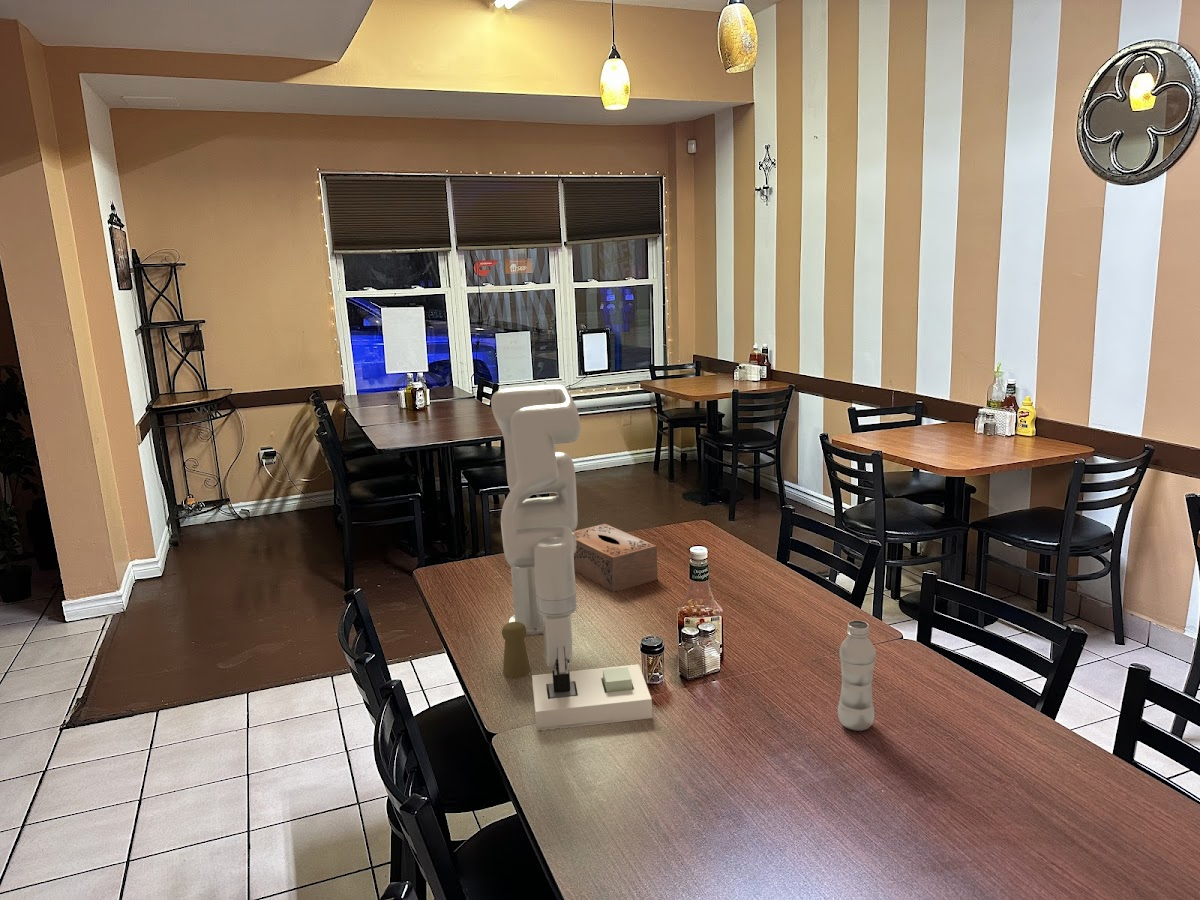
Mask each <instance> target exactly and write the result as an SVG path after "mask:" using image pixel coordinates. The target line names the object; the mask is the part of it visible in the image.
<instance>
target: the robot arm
mask: <svg viewBox="0 0 1200 900" xmlns="http://www.w3.org/2000/svg"><path fill="white" fill-rule="evenodd" d="M490 405H491V410H492V414H493V416H494V420H495V421H496V424H497V425H498V428H499V429H500V432H501V434H502V438H503V441H504V442H503V443H504V455H505V466H506V467H505V468H506V479H507V485H508V489H509V493H508V494H507V496H506V498H505V500H504V502H503V505H502V508H501V512H500V528H501V529H500V530H501V537H502V547H503V552H504V553H503V554H504V557H505V560H506V562H507V564H508V565H509V566H510V572H511V573H510V574H511V584H512V598H513V599H512V601H513V614H514V615H512V616H511V617H510V618H509V620H508V623H510V622H520V623H523V624H524V625H525V627H526V636H527V635H530V636H531V635H532V636H537V635H541V634H542V635H543V647H544V656H545V663H546V666H547V667H549V668H550V667H553V668H552V673H553V688H554V692H555V693H558V692H567V691H570V673H569V671H570V668H569V665H571V664H572V663H573V633H572V632H573V630H572V629H573V628H572V614H574V613H575V612H576V611H577V591H576V590H577V589H576V574H575V572H576V571H575V570H574V553H575V552H576V537H575V534H574V531H577V530H576V529H577V527H578V499H577V497H578V495H577V481H576V480H577V479H576V478H577V477H576V470H575V469H576V468H575V465H574V461H573V458H572V456H571V455H569V454H568V453H566V452H563V451H556V447H555V445H557V444H558V445H559V444H569V443H574V442H576V441H578V440H579V438H580V436H581V435H580V434H581V418H580V414H579V410H578V408H577V406H576V403H575V402H574V399H573V397H572V395H571V393H570V391H569V389H568V388H567V387H566V386H564V385H563V384H549V385H548V384H545V385H537V386H536V385H535V386H534V385H533V386H531V385H530V386H518V387H517V386H516V387H509V388H503V389H499V390H497V391H495V392H494V393H493V394H492V396H491V400H490ZM544 494H545V495H546V494H556V495H554V496H542V497H539V496H538V497H532V496H533V495H544ZM531 497H532V498H531Z"/></svg>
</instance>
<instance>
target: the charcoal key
mask: <svg viewBox="0 0 1200 900" xmlns="http://www.w3.org/2000/svg"><path fill="white" fill-rule="evenodd" d="M548 689H549V699H553V698H562V697H571V696H576V693H575V688H574V683H573V682H570V691H567V692H558V693H555V692H554V688H553V684H548Z"/></svg>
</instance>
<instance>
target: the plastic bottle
mask: <svg viewBox="0 0 1200 900" xmlns="http://www.w3.org/2000/svg"><path fill="white" fill-rule="evenodd" d="M846 633H847V637H846V638H845V639H844V640H843V641H842V642H841V644H840V647H839V653H838V654H839V660H840V661H839V662H840V670H841V672H840V673H841V688H840V697H839V701H838V706H837V716H838V720H839V722H840V723H841V725H842V726H843V727H845V728H846V729H848V730H851V731H857V732H858V731H859V732H861V731H865V730H868V729H869V728H870V727H871V726H872V725H873V723H874V719H875V715H876V714H875V708H874V702H873V689H872V688H873V687H872V685H873V675H874V669H875V664H876V658H877V651H876V648H875V646H874V644H873V642H872V641H871V640H870V638H869V636H870V625H869V623H868V622H866V621H864V620H860V619H853V620H850V621H849V622H848V623H847V630H846Z"/></svg>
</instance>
